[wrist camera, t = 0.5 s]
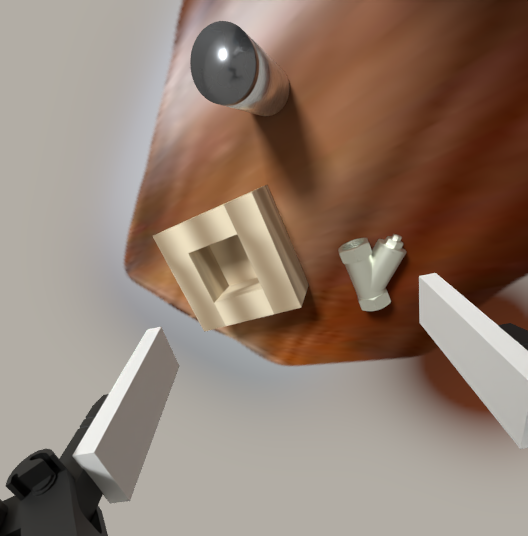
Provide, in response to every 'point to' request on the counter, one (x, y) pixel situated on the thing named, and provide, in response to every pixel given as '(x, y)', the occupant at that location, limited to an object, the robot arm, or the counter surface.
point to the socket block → (235, 261)
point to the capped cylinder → (237, 71)
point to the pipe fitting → (372, 268)
